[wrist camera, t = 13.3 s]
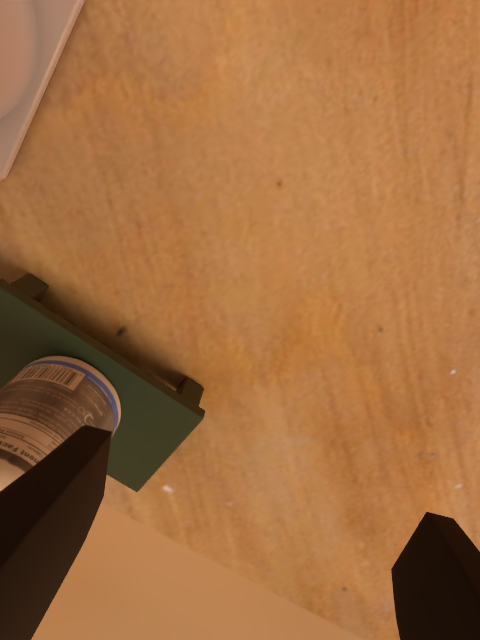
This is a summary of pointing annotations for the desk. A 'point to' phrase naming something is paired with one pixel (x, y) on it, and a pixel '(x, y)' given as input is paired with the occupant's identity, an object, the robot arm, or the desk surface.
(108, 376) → the green footed tray
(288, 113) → the desk surface
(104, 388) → the pill bottle
